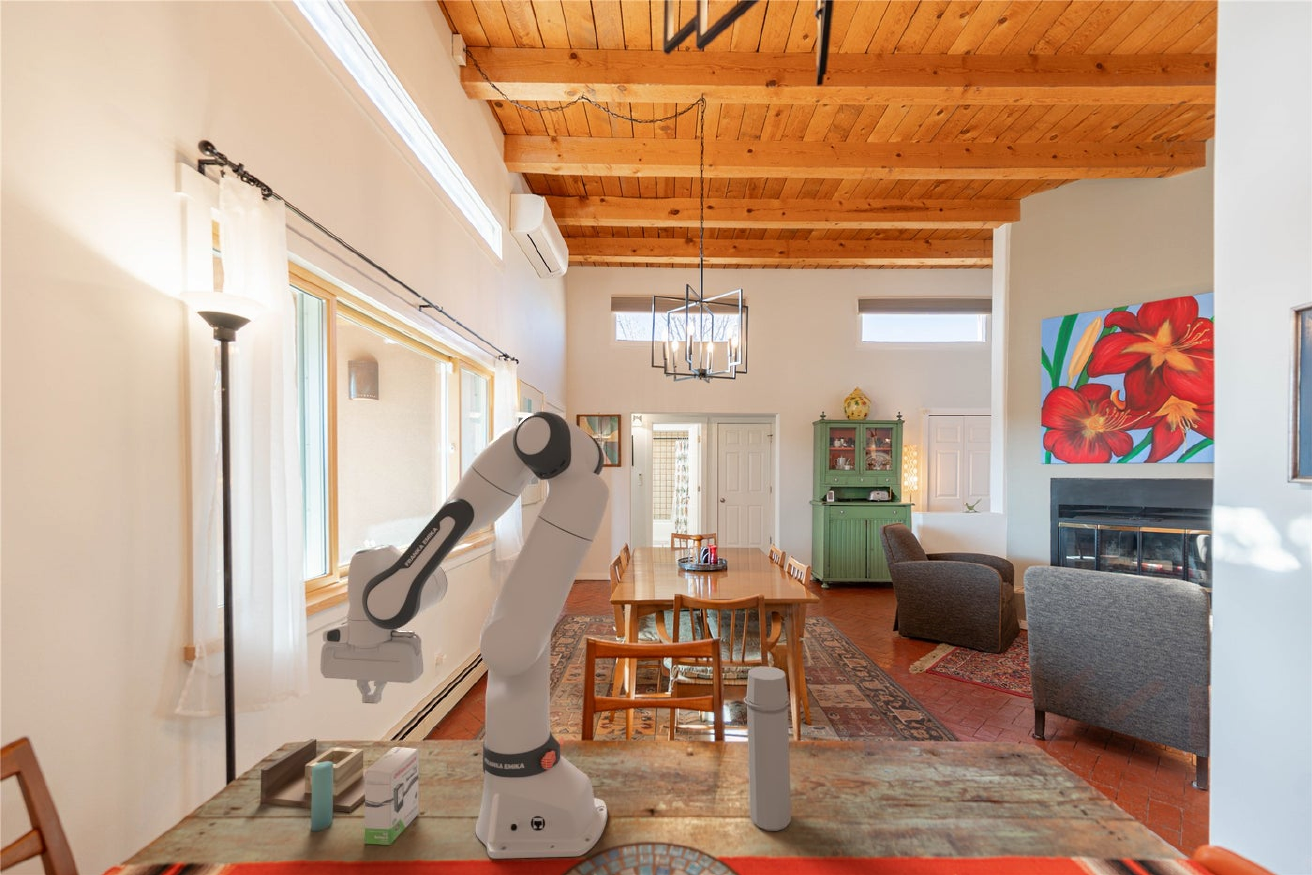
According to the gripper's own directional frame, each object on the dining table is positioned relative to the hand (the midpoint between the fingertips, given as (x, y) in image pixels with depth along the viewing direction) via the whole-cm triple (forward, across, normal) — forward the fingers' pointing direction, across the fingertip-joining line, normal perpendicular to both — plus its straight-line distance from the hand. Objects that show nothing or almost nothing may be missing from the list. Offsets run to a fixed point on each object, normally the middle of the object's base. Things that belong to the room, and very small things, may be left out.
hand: (371, 702), depth 108 cm
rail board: (+17, +9, 0) cm, 19 cm away
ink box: (+17, -11, +9) cm, 22 cm away
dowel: (+17, +2, +10) cm, 20 cm away
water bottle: (+17, -75, -4) cm, 77 cm away
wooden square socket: (+16, +8, 0) cm, 18 cm away
